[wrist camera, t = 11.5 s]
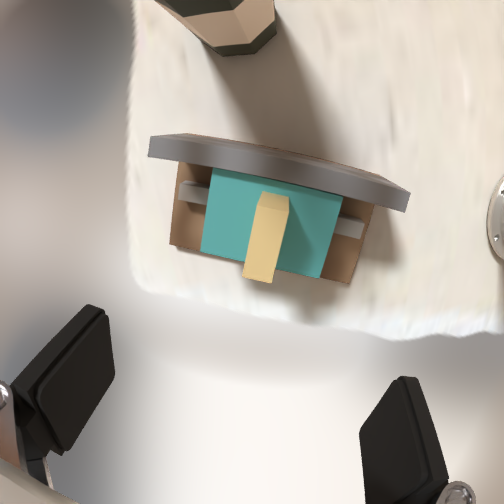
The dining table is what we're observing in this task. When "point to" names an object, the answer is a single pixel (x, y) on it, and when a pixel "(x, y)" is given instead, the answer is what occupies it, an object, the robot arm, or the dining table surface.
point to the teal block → (268, 224)
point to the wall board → (197, 212)
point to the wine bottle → (226, 23)
